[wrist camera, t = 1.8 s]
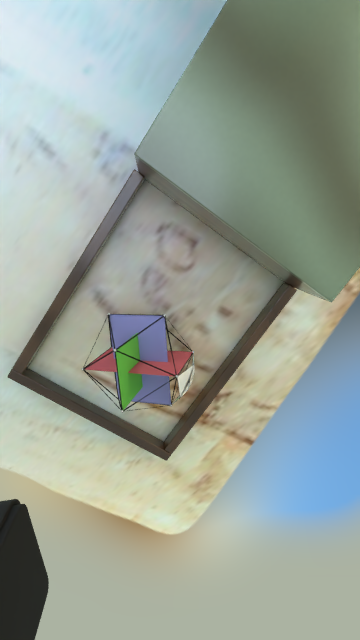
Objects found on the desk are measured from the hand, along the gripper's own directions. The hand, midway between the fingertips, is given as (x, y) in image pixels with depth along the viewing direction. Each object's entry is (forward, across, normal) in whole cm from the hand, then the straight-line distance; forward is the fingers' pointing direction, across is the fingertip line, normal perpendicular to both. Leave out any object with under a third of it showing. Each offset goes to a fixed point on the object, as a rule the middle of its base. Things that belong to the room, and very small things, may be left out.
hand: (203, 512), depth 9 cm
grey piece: (+18, -3, -5) cm, 19 cm away
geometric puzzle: (+18, +2, +1) cm, 18 cm away
